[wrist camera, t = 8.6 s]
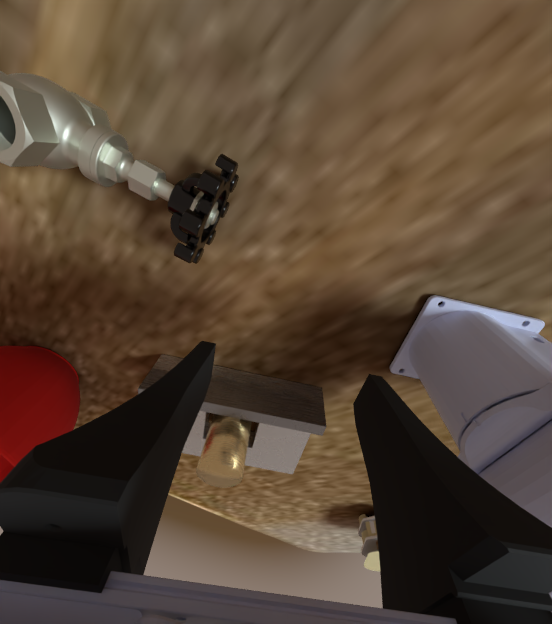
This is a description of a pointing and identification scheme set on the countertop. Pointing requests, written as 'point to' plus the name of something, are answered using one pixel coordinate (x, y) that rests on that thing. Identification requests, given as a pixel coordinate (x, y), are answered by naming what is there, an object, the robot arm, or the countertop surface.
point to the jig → (255, 413)
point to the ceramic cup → (34, 401)
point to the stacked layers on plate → (369, 542)
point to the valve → (105, 156)
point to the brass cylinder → (224, 451)
